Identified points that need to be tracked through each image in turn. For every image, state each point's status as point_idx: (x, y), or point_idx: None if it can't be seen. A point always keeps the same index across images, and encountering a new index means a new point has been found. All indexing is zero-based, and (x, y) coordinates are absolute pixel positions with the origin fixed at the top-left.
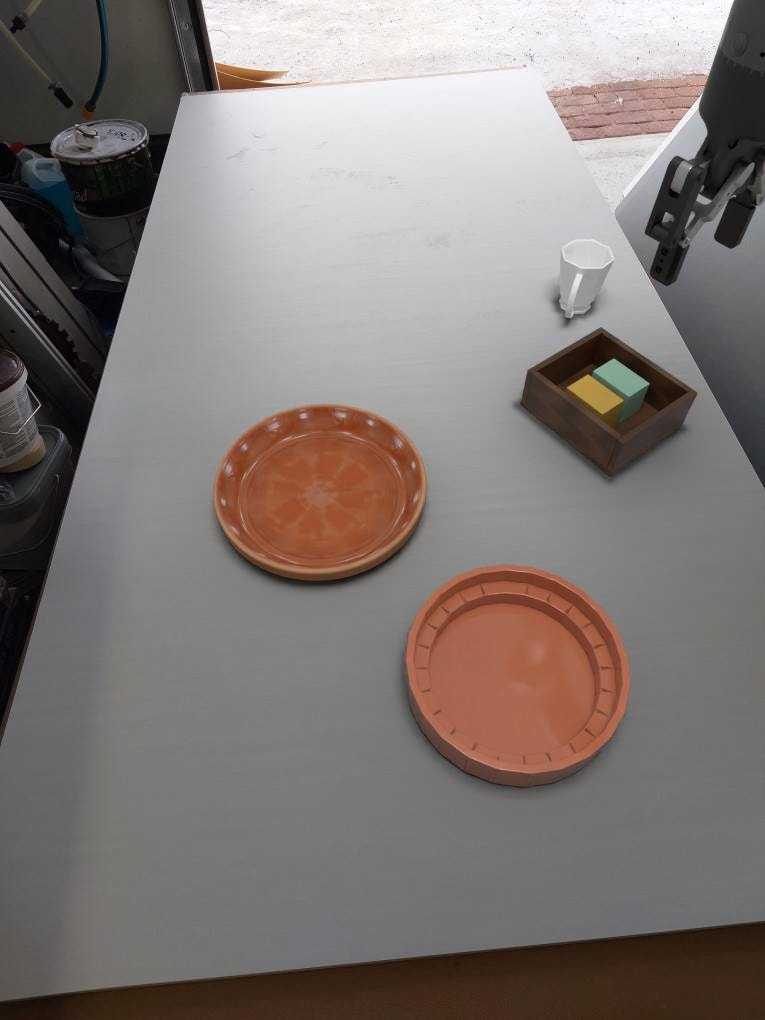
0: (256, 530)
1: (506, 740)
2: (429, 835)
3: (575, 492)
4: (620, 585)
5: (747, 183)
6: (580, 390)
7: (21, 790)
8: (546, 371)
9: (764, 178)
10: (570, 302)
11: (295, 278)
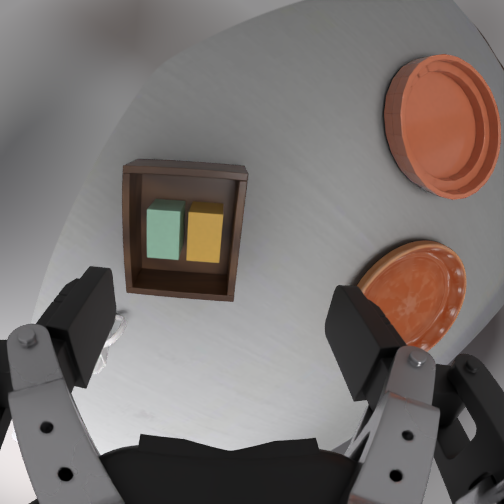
0: (439, 306)
1: (464, 108)
2: (500, 119)
3: (283, 177)
4: (338, 95)
5: (153, 469)
6: (212, 251)
7: None
8: (210, 289)
9: (72, 452)
10: (122, 329)
11: (253, 436)
